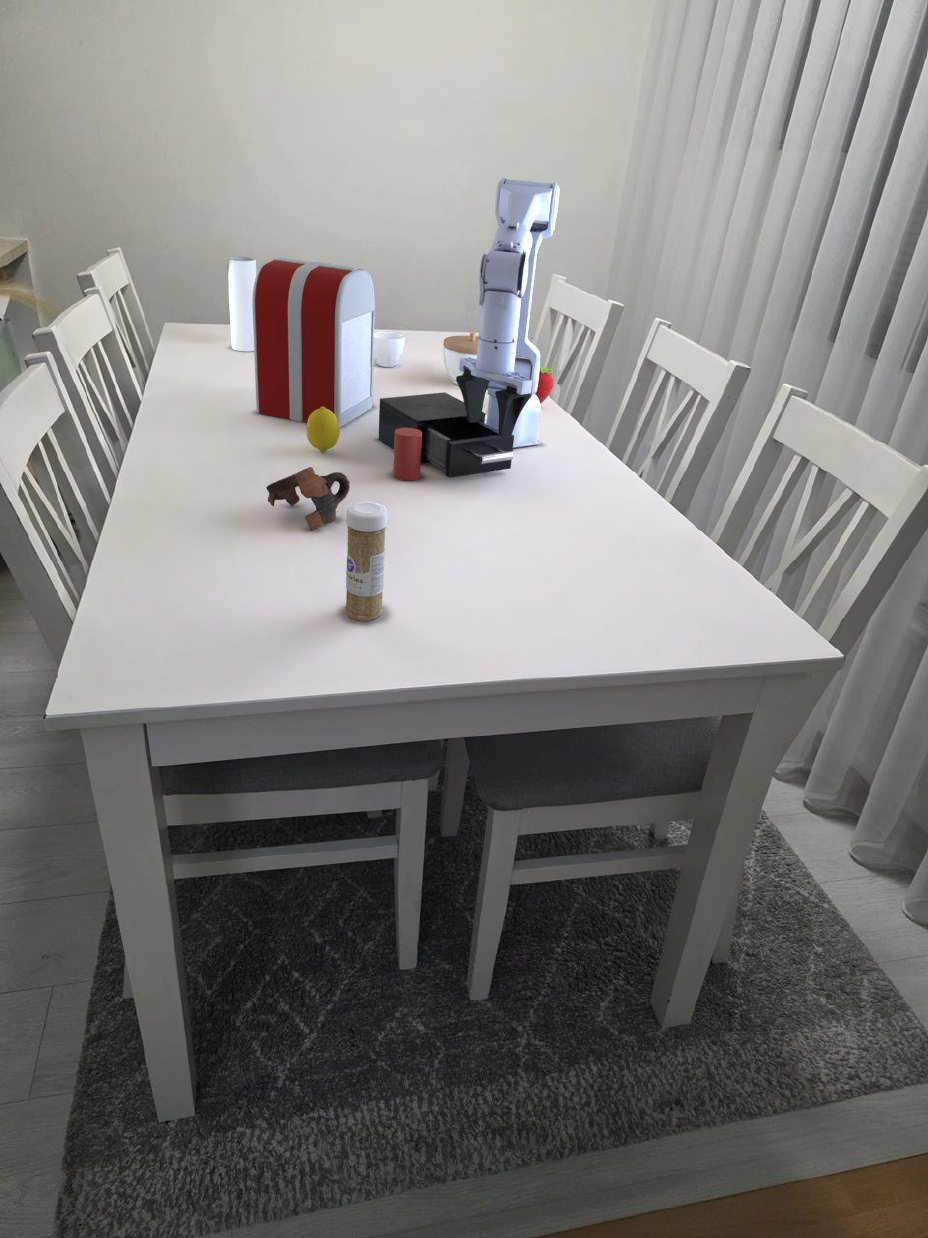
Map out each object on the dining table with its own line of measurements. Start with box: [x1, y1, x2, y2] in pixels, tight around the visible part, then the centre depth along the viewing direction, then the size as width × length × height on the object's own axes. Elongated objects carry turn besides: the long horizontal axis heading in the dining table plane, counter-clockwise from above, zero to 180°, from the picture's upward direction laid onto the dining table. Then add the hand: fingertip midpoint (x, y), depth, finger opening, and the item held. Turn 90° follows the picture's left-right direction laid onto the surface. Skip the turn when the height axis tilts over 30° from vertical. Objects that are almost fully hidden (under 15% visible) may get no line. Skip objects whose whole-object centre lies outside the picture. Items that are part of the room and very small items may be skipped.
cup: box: [373, 331, 406, 368], centre depth 205 cm, size 8×10×7 cm
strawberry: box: [534, 359, 556, 405], centre depth 184 cm, size 6×8×10 cm
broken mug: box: [265, 466, 351, 531], centre depth 128 cm, size 12×10×8 cm
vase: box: [226, 256, 258, 352], centre depth 207 cm, size 11×7×20 cm, turn 104°
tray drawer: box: [421, 420, 514, 479], centre depth 148 cm, size 17×12×6 cm
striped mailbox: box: [252, 256, 376, 429], centre depth 166 cm, size 16×18×27 cm
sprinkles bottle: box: [344, 501, 388, 622], centre depth 102 cm, size 5×5×13 cm
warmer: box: [378, 391, 486, 465], centre depth 157 cm, size 14×14×8 cm
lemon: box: [306, 407, 340, 454], centre depth 150 cm, size 6×6×8 cm
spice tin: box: [392, 428, 422, 482], centre depth 144 cm, size 4×4×8 cm
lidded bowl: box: [443, 331, 479, 386], centre depth 197 cm, size 13×13×11 cm
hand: (489, 428), depth 137 cm, fingers open, 7 cm apart
